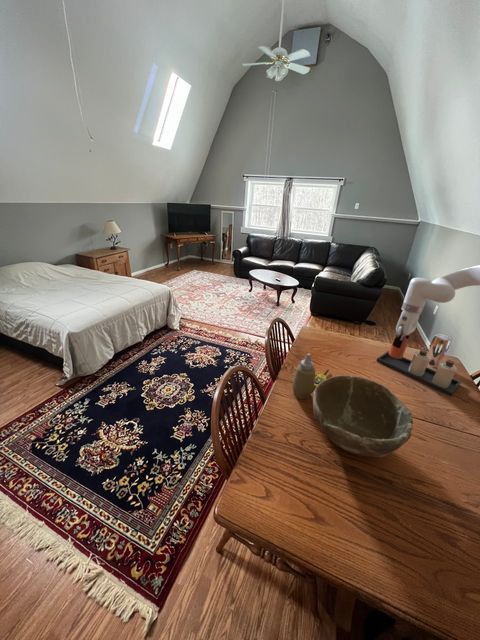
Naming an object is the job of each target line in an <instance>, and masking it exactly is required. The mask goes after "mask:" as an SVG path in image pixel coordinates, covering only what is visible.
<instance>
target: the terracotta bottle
mask: <svg viewBox="0 0 480 640" xmlns="http://www.w3.org/2000/svg"><path fill="white" fill-rule="evenodd" d="M400 335H401V336H402V334H400ZM405 337H406V335H404V337H403V339H402V340H403V342H402V344H401V347H400V348H397V347H395V346H393V342H394V339H395V336H393V339H392V341H391V344H390V346H389V350H388V351H389V355H390V356H391V357H393V358H397V359H401V358H403V357H404V355H405V352H406V349H407V347H408V345H409V341H410V340H409V338H408V339H407V338H405Z"/></svg>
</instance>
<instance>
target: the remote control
mask: <svg viewBox="0 0 480 640" xmlns="http://www.w3.org/2000/svg"><path fill="white" fill-rule="evenodd" d="M329 371H330V369H327V370H326V371H324V374H323V373H319V374H317V375H316V374H315V383H314V390H315V389H316V387H317V386H318V384H319V383H321V382H322V381H324V380H326V379H327V376H326V375H327V374H328V372H329Z"/></svg>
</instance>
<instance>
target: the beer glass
mask: <svg viewBox="0 0 480 640" xmlns="http://www.w3.org/2000/svg"><path fill="white" fill-rule="evenodd" d="M453 340H454V339H453V337H451V336H450V335H448V334H444V333H439V332H437V333H435V334H434V336H433V338H432V340H431V342H430V344H429V349H428V353H427V355H428V356H429V357H430V360H429V362H428V365H427V367H430V368H434V369H437V368H438V366H439V364H440V363H442V360H443V359H444V358H445V356H446V355H447V353H448V352H449V350H450V348H451V345H452V343H453Z"/></svg>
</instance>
